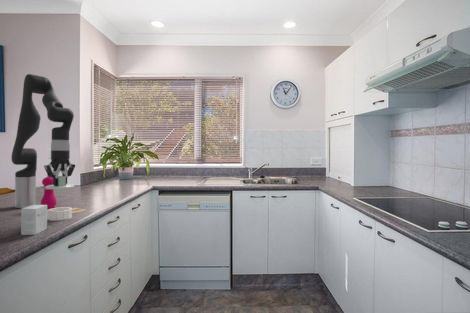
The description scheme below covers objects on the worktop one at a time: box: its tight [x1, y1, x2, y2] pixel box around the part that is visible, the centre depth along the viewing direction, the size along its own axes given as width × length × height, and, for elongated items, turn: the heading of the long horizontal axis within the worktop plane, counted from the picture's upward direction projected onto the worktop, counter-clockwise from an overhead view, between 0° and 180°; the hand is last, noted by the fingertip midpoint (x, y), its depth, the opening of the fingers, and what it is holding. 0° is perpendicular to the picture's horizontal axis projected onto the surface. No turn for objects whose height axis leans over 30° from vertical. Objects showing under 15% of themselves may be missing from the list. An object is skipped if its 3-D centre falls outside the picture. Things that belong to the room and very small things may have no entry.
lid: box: [46, 175, 75, 190], centre depth 131 cm, size 12×12×5 cm
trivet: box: [71, 206, 87, 214], centre depth 146 cm, size 12×12×1 cm
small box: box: [20, 204, 48, 236], centre depth 113 cm, size 8×6×10 cm
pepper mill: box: [40, 174, 58, 210], centre depth 147 cm, size 7×7×20 cm
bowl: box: [47, 206, 73, 222], centre depth 131 cm, size 10×10×5 cm
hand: (60, 185), depth 131 cm, fingers closed on lid, 3 cm apart
